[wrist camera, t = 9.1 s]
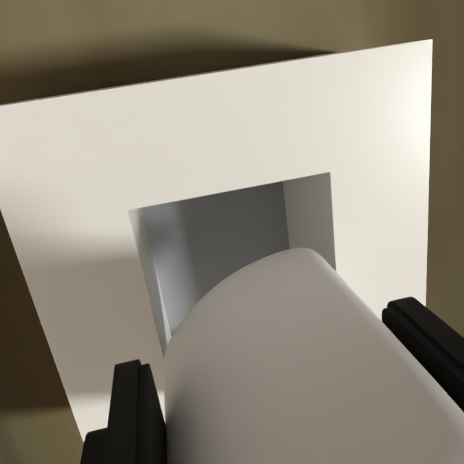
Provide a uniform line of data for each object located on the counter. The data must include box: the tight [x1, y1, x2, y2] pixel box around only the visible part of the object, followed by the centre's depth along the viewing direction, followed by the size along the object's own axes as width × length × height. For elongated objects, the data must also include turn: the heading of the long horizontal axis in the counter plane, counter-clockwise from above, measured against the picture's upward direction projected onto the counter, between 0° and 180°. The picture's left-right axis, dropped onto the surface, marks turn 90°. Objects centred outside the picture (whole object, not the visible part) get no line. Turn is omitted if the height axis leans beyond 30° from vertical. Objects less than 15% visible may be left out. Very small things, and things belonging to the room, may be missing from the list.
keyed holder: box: [0, 39, 432, 442], centre depth 16 cm, size 14×12×6 cm
